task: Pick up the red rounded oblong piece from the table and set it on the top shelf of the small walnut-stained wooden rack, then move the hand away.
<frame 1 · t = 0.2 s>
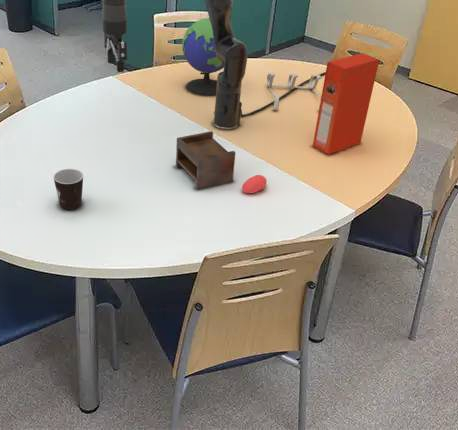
hand: (115, 67, 193), 29 cm above the table, tool pointing down, fingers open, 8 cm apart
globe: (205, 88, 256), on the table
rack: (203, 174, 195), on the table
red rounded oblong piece: (254, 190, 188), on the table
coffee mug: (70, 207, 176), on the table
over door rack: (294, 99, 250), on the table
file binder: (336, 145, 216), on the table
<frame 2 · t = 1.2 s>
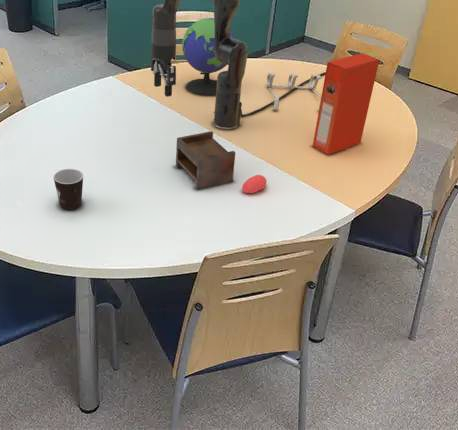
hand: (162, 91, 188), 25 cm above the table, tool pointing down, fingers open, 8 cm apart
nothing on the table moved.
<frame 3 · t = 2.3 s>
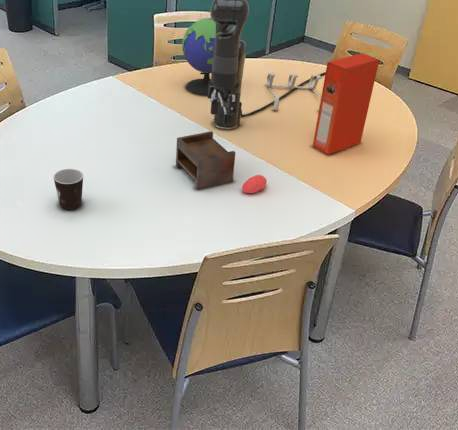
hand: (220, 119, 181), 21 cm above the table, tool pointing down, fingers open, 8 cm apart
nothing on the table moved.
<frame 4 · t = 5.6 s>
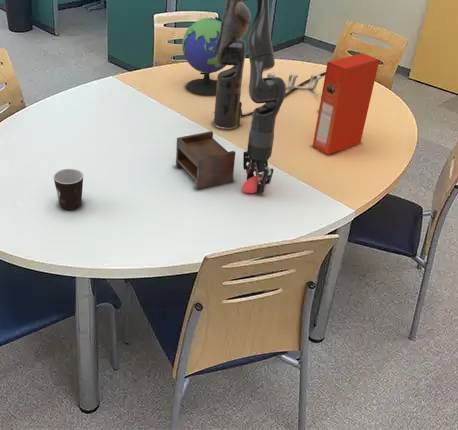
hand: (254, 188, 188), 1 cm above the table, tool pointing down, fingers closed on red rounded oblong piece, 5 cm apart
red rounded oblong piece: (254, 190, 188), on the table, touching gripper
everything else where it was.
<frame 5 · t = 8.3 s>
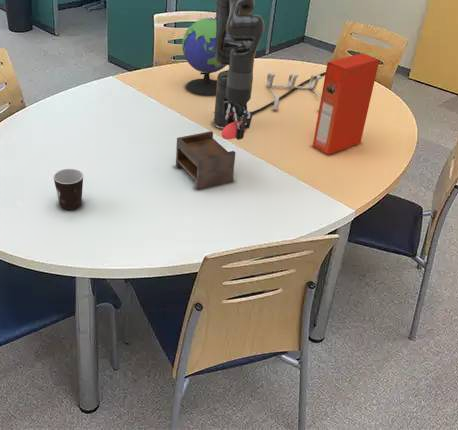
hand: (234, 134, 182), 17 cm above the table, tool pointing down, fingers closed on red rounded oblong piece, 5 cm apart
red rounded oblong piece: (233, 137, 183), point 16 cm above the table, touching gripper
everything else where it was.
when the fingers open (10 cm above the table, at t = 11.3 s): red rounded oblong piece stays where it is, resting on rack.
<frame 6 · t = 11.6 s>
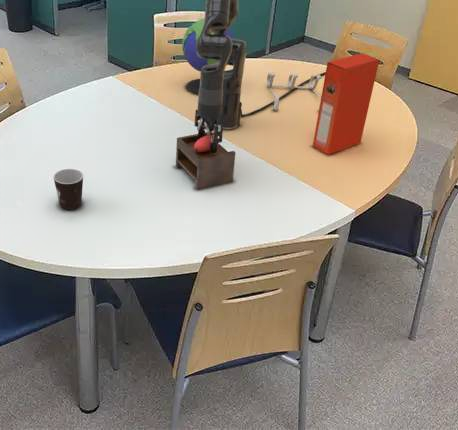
hand: (206, 146, 189), 10 cm above the table, tool pointing down, fingers open, 8 cm apart
red rounded oblong piece: (206, 150, 190), point 9 cm above the table, touching rack
everything else where it was.
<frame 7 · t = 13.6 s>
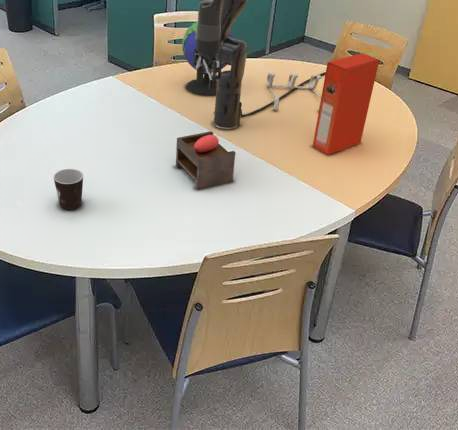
hand: (205, 85, 191), 26 cm above the table, tool pointing down, fingers open, 8 cm apart
nothing on the table moved.
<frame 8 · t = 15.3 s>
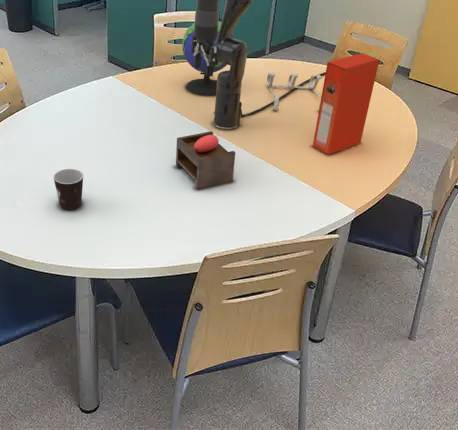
hand: (203, 71, 195), 28 cm above the table, tool pointing down, fingers open, 8 cm apart
nothing on the table moved.
at the end: red rounded oblong piece inside the target area on the rack (0.2 cm from its centre), point 8.8 cm above the rack's base; the gripper is holding nothing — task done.
